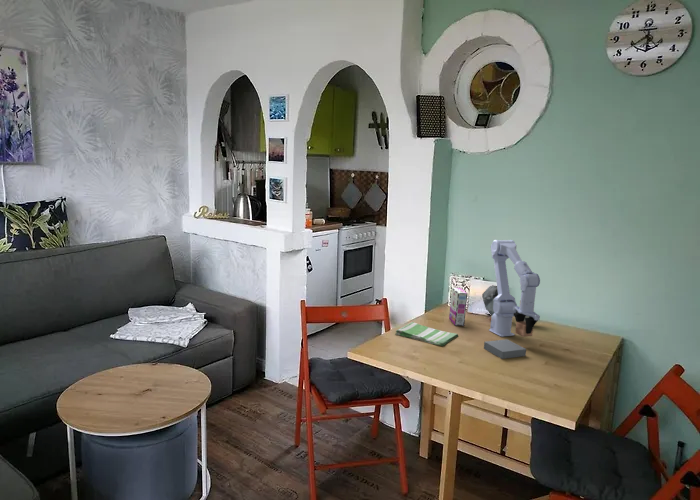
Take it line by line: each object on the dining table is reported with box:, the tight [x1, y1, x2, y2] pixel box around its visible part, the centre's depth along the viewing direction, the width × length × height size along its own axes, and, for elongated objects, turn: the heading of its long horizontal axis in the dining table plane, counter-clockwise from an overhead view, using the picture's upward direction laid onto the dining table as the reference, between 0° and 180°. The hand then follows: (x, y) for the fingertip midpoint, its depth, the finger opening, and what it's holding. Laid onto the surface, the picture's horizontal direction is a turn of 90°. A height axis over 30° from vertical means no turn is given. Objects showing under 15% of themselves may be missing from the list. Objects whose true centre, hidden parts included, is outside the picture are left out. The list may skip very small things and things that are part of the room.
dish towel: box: [395, 321, 459, 347], centre depth 229 cm, size 18×23×3 cm
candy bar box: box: [448, 287, 468, 327], centre depth 249 cm, size 11×5×16 cm, turn 5°
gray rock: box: [481, 284, 501, 321], centre depth 258 cm, size 14×15×18 cm
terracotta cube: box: [514, 321, 534, 338], centre depth 220 cm, size 5×5×5 cm
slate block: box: [483, 338, 527, 360], centre depth 213 cm, size 12×12×3 cm
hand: (524, 331), depth 221 cm, fingers closed on terracotta cube, 5 cm apart
